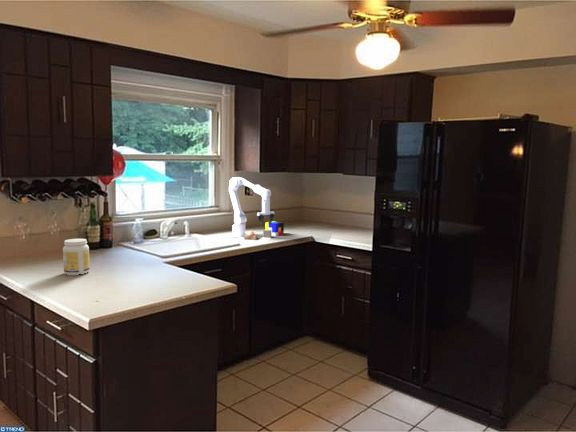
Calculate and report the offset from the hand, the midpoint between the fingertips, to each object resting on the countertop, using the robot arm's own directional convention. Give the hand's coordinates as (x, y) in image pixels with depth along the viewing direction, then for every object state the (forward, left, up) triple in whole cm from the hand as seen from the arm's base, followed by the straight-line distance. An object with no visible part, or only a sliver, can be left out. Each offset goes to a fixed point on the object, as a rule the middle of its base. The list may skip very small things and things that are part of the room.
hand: (265, 224), depth 342 cm
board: (+1, -5, -10) cm, 11 cm away
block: (+1, +2, -9) cm, 10 cm away
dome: (-10, -6, -8) cm, 14 cm away
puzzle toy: (+4, +15, -10) cm, 19 cm away
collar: (-10, -6, -10) cm, 15 cm away
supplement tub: (-75, -117, -10) cm, 140 cm away
